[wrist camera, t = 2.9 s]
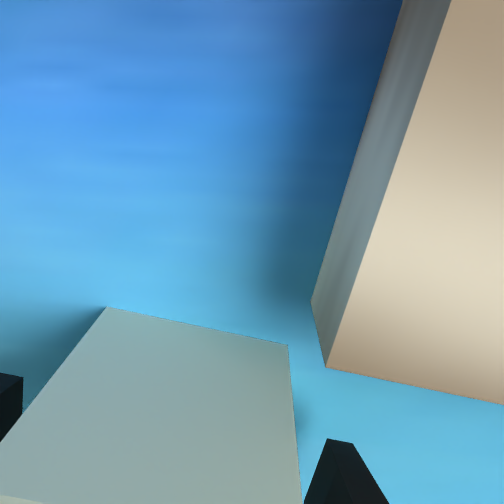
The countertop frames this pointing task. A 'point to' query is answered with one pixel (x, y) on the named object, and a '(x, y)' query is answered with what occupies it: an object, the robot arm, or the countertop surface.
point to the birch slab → (425, 212)
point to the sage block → (158, 420)
